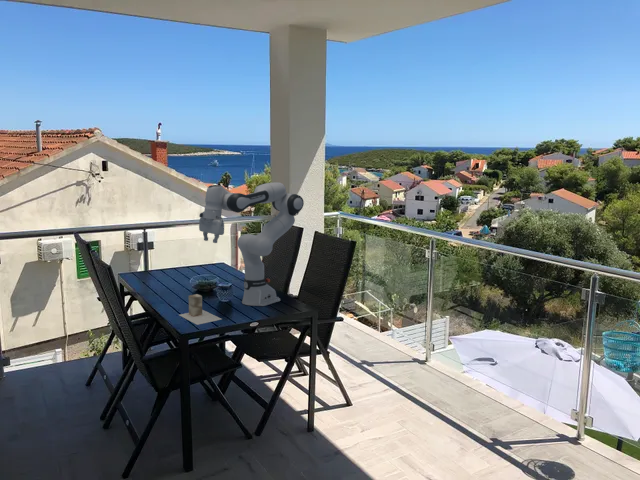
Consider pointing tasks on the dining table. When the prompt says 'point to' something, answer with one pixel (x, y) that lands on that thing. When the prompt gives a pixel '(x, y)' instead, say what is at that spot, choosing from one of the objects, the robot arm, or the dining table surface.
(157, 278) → the dining table surface
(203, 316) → the sand mat
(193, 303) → the birch block
